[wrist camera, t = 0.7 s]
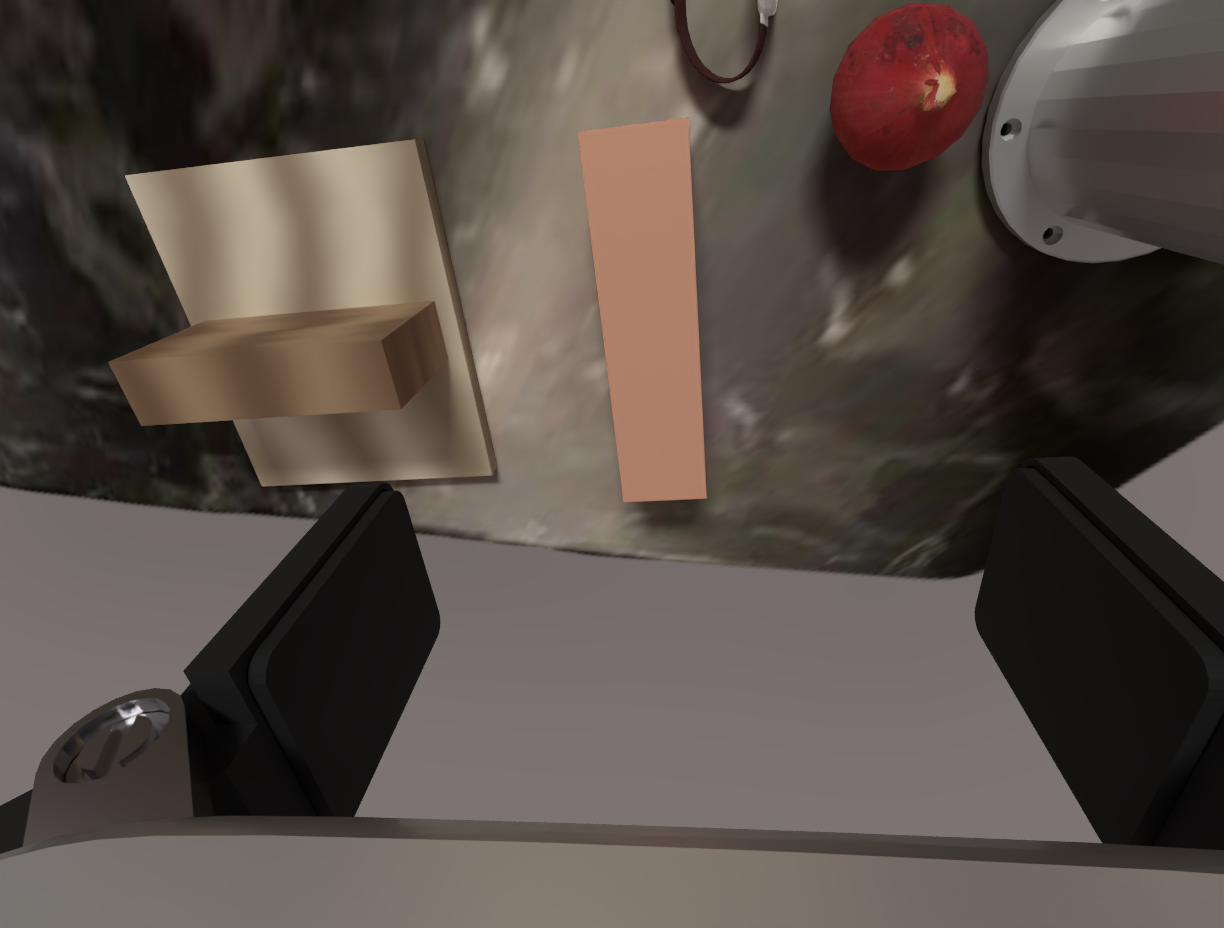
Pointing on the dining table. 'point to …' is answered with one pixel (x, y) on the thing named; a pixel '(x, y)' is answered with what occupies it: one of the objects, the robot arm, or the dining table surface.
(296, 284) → the stand
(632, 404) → the beam
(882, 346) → the dining table surface
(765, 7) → the watch
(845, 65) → the onion
